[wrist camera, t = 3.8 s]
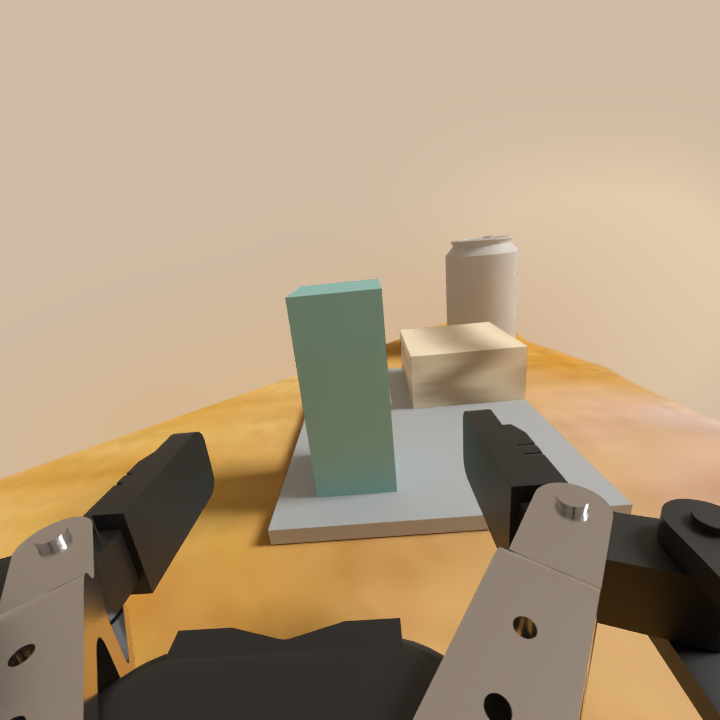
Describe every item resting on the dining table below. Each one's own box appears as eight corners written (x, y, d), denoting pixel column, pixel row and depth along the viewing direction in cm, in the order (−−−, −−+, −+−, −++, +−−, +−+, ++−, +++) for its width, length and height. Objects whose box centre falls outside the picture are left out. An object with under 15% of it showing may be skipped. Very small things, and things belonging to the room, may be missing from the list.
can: (434, 347, 43) (431, 241, 39) (470, 333, 48) (470, 237, 44) (493, 358, 38) (495, 236, 34) (527, 341, 42) (532, 231, 38)
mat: (271, 544, 17) (267, 527, 16) (320, 382, 36) (319, 373, 35) (629, 519, 16) (632, 501, 16) (485, 368, 35) (485, 359, 35)
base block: (413, 408, 26) (410, 356, 25) (402, 371, 34) (399, 330, 33) (524, 399, 26) (527, 346, 25) (488, 363, 34) (489, 321, 33)
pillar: (317, 497, 18) (285, 297, 15) (325, 453, 22) (301, 286, 19) (397, 491, 18) (381, 288, 15) (391, 448, 22) (377, 278, 19)
